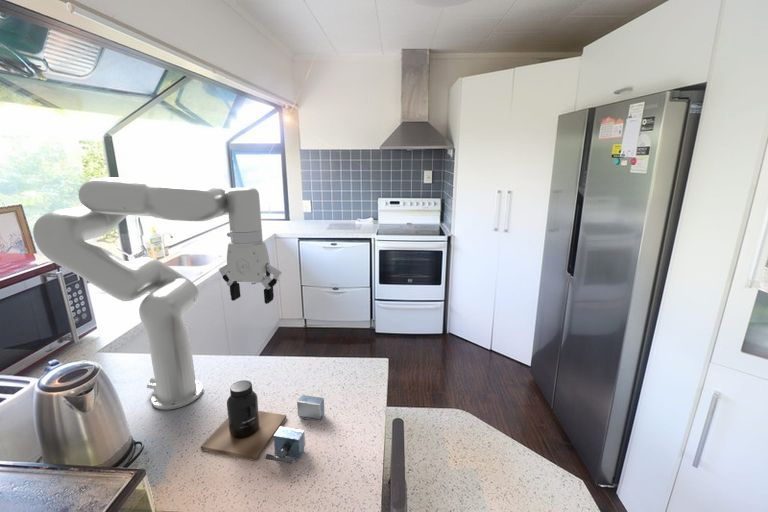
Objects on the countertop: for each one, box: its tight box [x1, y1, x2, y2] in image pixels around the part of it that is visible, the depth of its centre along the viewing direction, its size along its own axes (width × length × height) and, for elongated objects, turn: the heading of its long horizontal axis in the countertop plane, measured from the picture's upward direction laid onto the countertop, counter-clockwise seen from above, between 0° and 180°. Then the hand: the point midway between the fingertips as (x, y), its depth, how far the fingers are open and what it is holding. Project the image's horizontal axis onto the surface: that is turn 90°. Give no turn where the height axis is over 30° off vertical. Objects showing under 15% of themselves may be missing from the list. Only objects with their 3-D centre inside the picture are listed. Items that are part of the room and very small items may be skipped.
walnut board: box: [200, 410, 287, 462], centre depth 88 cm, size 14×14×1 cm
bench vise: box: [264, 394, 325, 465], centre depth 86 cm, size 6×19×5 cm, turn 168°
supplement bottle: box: [226, 379, 259, 439], centre depth 86 cm, size 7×7×12 cm
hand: (252, 300), depth 96 cm, fingers open, 9 cm apart
